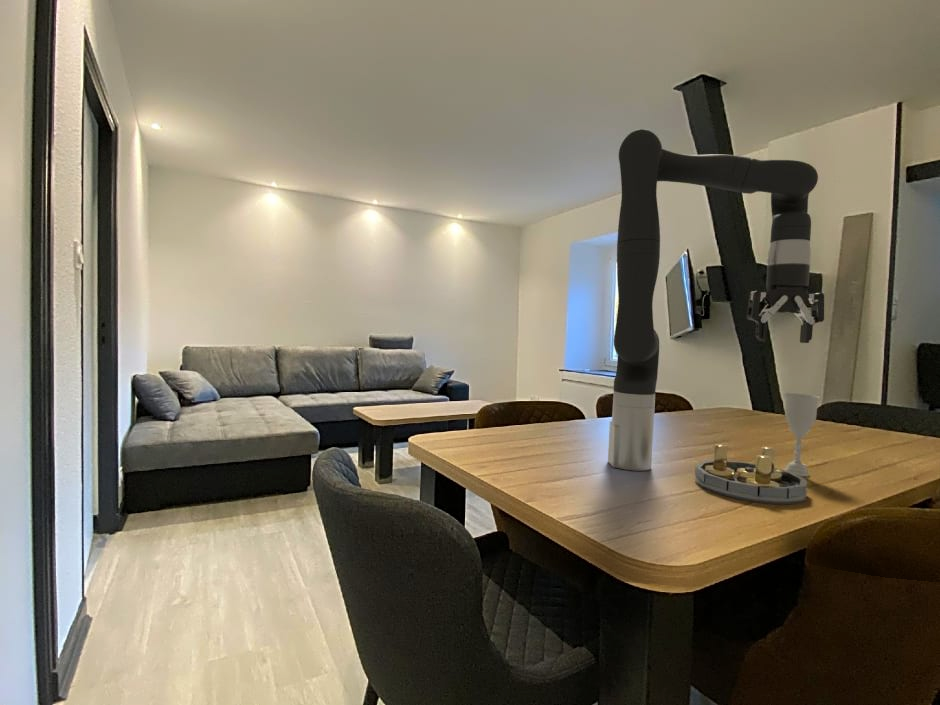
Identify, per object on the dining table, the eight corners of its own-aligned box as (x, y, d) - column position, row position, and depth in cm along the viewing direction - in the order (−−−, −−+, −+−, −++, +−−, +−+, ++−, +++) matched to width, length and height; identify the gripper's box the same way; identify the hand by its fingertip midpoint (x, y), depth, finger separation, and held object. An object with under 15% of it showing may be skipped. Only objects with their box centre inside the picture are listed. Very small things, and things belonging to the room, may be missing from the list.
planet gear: (753, 493, 96) (756, 459, 96) (740, 484, 102) (742, 452, 101) (784, 495, 96) (787, 461, 95) (769, 486, 101) (771, 454, 101)
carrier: (717, 500, 95) (720, 459, 95) (681, 471, 115) (683, 437, 114) (829, 507, 93) (832, 465, 93) (773, 476, 113) (776, 441, 113)
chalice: (771, 468, 120) (776, 393, 119) (798, 468, 121) (804, 393, 120) (794, 477, 113) (799, 397, 112) (822, 478, 113) (828, 398, 112)
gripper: (761, 260, 102) (756, 341, 103) (835, 262, 101) (830, 343, 102) (744, 265, 110) (739, 340, 110) (813, 267, 108) (808, 343, 109)
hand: (783, 342), depth 106 cm, fingers open, 8 cm apart
